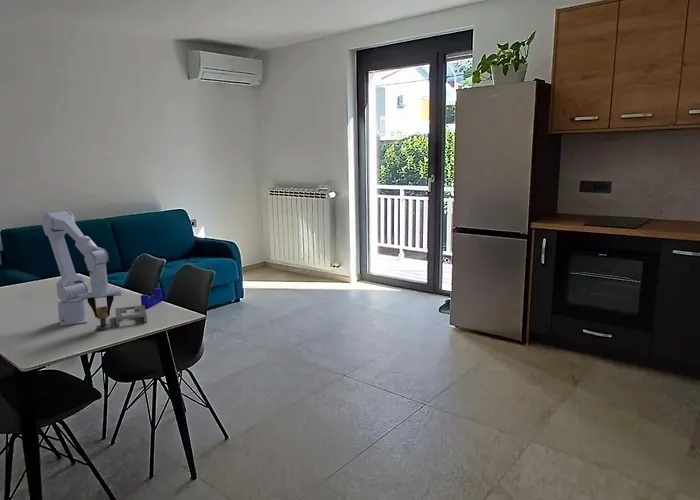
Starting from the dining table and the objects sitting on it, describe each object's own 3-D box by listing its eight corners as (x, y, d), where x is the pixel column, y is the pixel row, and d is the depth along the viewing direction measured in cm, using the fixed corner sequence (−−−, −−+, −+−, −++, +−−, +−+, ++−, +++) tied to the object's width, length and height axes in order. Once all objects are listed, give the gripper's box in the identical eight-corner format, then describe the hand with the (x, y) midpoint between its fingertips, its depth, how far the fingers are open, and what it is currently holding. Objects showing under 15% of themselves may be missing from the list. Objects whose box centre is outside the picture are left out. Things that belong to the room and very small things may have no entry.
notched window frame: (116, 326, 196) (115, 318, 195) (116, 316, 209) (115, 308, 208) (147, 322, 201) (146, 314, 200) (144, 312, 213) (144, 304, 212)
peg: (96, 331, 191) (94, 310, 189) (96, 327, 195) (94, 307, 194) (111, 329, 193) (108, 308, 191) (111, 325, 198) (109, 305, 196)
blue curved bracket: (153, 300, 231) (152, 288, 230) (163, 301, 230) (162, 288, 229) (138, 308, 219) (137, 295, 218) (148, 309, 218) (147, 295, 217)
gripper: (76, 286, 184) (80, 321, 187) (120, 281, 190) (123, 316, 193) (77, 281, 190) (81, 316, 193) (119, 277, 196) (123, 311, 199)
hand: (102, 315), depth 193 cm, fingers closed on peg, 4 cm apart
